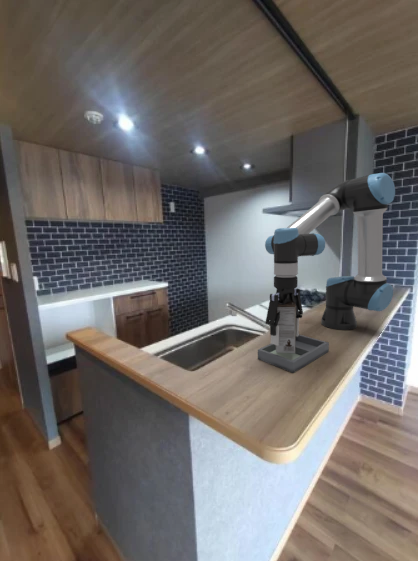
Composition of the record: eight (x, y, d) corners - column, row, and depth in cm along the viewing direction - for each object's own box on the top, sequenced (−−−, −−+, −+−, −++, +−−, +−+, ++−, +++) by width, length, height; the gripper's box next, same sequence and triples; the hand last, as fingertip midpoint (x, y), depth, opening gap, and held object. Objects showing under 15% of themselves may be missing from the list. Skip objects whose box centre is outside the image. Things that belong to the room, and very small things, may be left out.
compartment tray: (294, 341, 107) (294, 333, 106) (328, 351, 96) (328, 342, 95) (257, 358, 92) (257, 349, 92) (292, 373, 81) (293, 362, 81)
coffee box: (274, 342, 95) (274, 298, 93) (293, 343, 94) (293, 299, 91) (275, 352, 86) (275, 305, 84) (296, 353, 85) (296, 305, 82)
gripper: (295, 271, 96) (294, 329, 100) (253, 278, 82) (254, 345, 85) (314, 272, 91) (312, 333, 94) (273, 281, 76) (273, 352, 79)
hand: (285, 339), depth 89 cm, fingers closed on coffee box, 11 cm apart
